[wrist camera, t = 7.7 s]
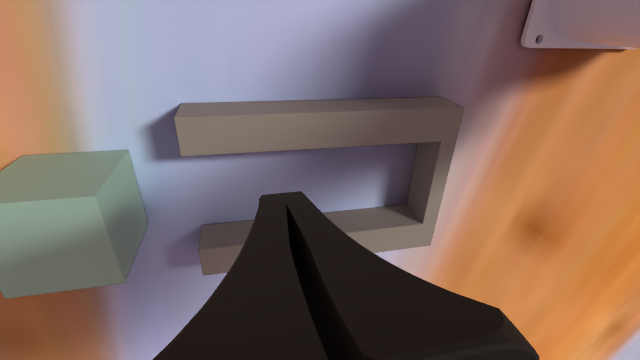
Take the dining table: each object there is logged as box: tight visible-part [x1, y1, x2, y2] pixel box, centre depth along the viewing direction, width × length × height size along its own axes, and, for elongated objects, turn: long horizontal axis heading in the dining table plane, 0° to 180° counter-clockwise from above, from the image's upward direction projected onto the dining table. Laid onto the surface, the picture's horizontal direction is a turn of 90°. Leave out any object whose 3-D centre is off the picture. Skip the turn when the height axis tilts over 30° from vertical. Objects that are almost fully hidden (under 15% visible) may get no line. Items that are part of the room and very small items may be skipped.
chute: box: [174, 97, 464, 275], centre depth 20 cm, size 16×10×2 cm, turn 88°
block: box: [0, 150, 148, 299], centre depth 16 cm, size 5×5×5 cm
